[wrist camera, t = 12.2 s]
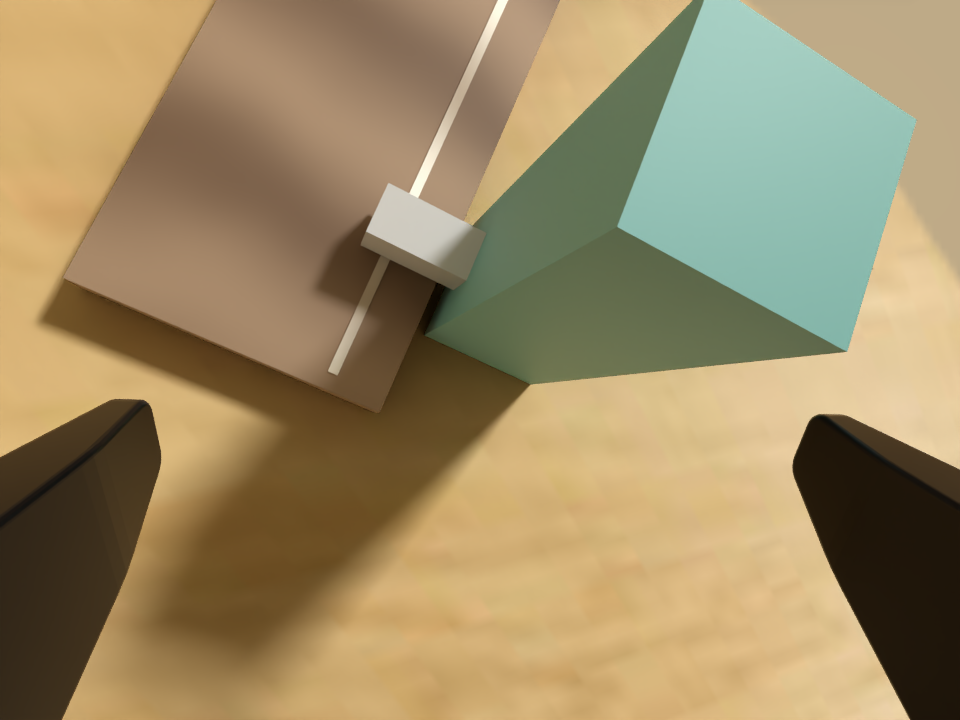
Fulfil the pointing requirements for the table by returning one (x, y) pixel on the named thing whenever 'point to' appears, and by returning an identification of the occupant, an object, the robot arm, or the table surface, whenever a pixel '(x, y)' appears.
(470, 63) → the board
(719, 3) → the teal rectangular block
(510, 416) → the table surface
